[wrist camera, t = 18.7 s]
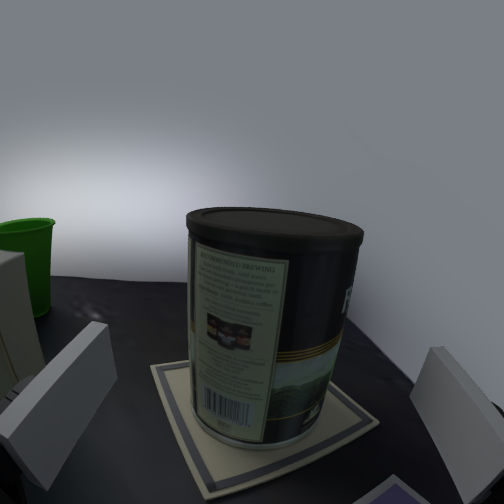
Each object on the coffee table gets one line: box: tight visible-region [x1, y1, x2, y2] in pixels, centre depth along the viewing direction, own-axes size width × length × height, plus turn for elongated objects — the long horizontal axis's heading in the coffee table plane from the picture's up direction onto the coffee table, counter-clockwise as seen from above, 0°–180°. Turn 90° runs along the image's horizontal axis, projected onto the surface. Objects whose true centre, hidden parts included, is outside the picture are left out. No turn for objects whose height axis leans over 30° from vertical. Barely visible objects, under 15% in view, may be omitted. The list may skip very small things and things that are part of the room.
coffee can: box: [186, 207, 364, 450], centre depth 19 cm, size 10×10×14 cm
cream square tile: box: [150, 360, 380, 501], centre depth 21 cm, size 14×14×1 cm
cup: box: [0, 218, 55, 318], centre depth 28 cm, size 9×9×11 cm
